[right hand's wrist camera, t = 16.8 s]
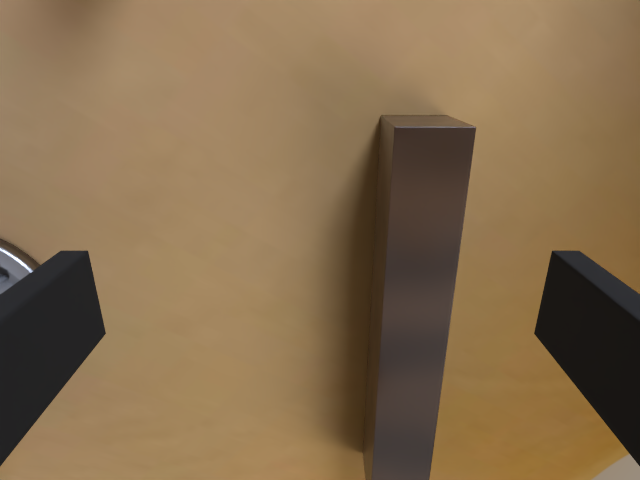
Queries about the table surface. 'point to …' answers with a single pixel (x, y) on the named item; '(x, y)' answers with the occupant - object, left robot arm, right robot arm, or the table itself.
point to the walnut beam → (413, 287)
